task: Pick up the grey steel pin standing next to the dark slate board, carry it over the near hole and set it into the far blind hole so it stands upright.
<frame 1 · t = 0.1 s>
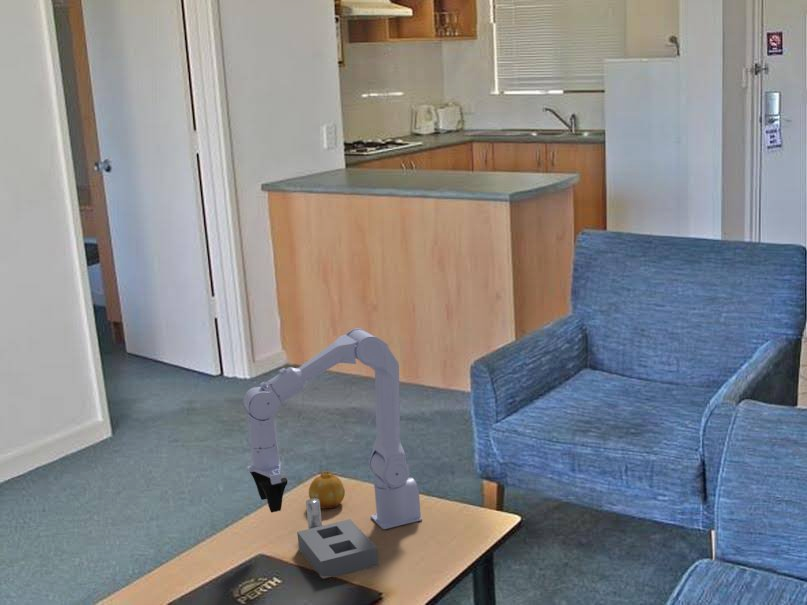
hand: (270, 504, 222), 10 cm above the table, tool pointing down, fingers open, 7 cm apart
fruit: (328, 505, 245), on the table
pin: (315, 530, 232), on the table
hole board: (337, 557, 218), on the table
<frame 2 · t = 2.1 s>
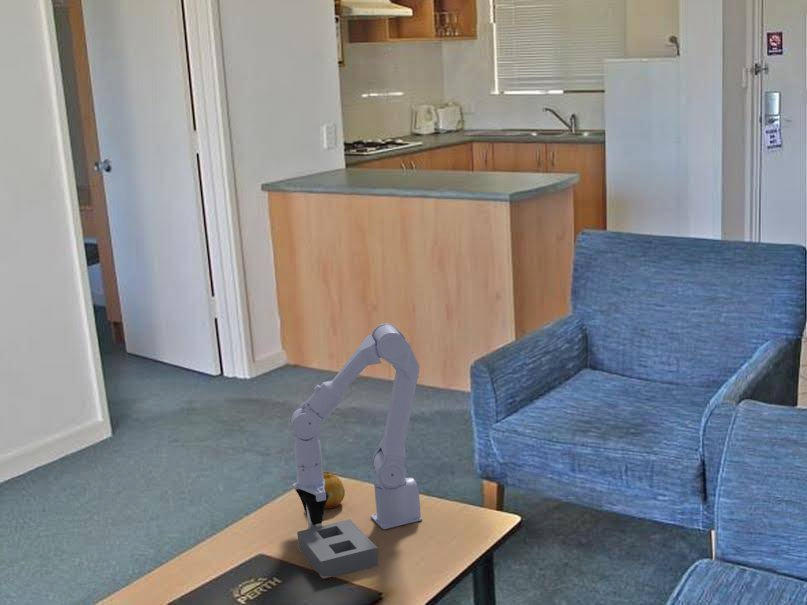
hand: (314, 520, 231), 2 cm above the table, tool pointing down, fingers closed on pin, 3 cm apart
pin: (315, 530, 232), on the table, touching gripper
everything else where it was.
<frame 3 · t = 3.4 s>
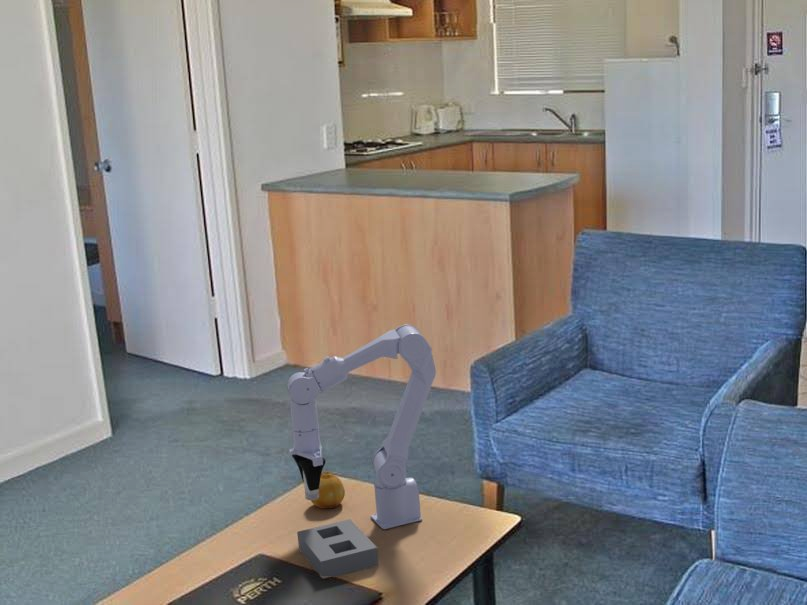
hand: (311, 486, 229), 10 cm above the table, tool pointing down, fingers closed on pin, 3 cm apart
pin: (312, 497, 230), point 8 cm above the table, touching gripper
everything else where it was.
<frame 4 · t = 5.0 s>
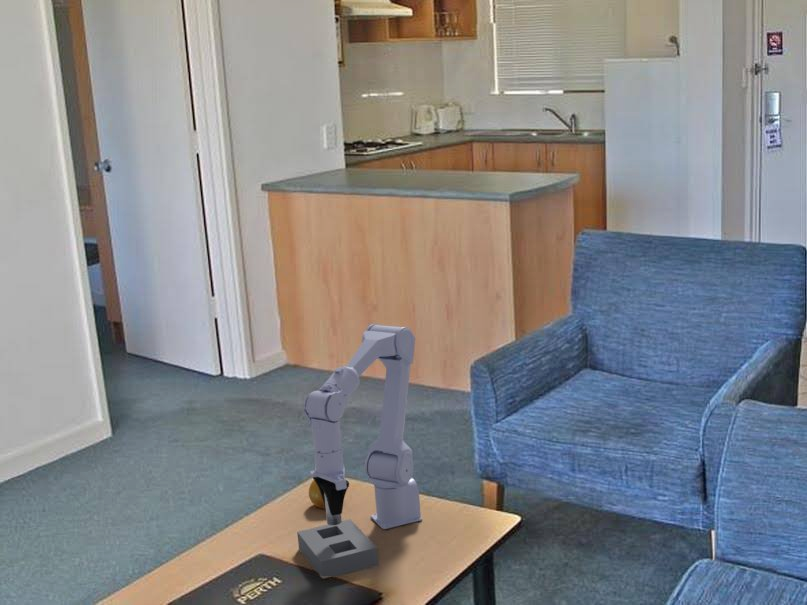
hand: (333, 511, 216), 10 cm above the table, tool pointing down, fingers closed on pin, 3 cm apart
pin: (334, 522, 216), point 8 cm above the table, touching gripper
everything else where it was.
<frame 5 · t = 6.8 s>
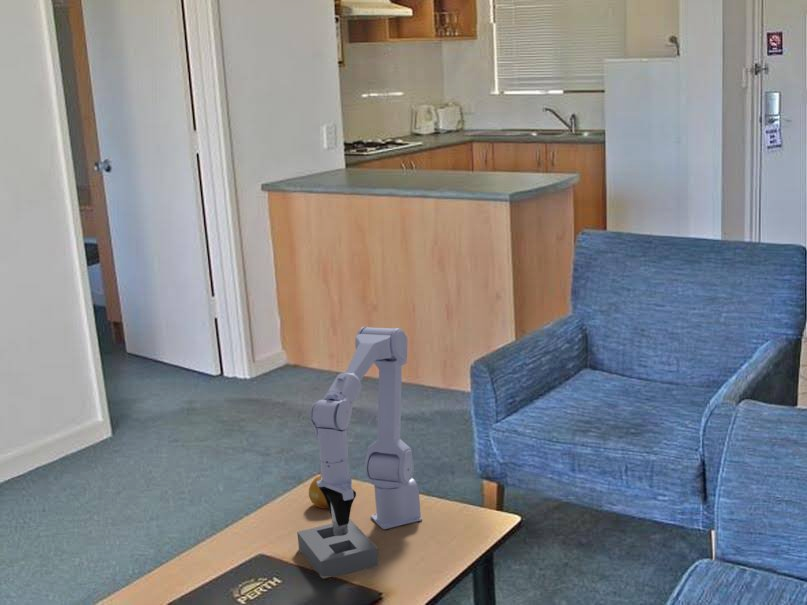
hand: (340, 521, 212), 10 cm above the table, tool pointing down, fingers closed on pin, 3 cm apart
pin: (340, 532, 213), point 7 cm above the table, touching gripper
everything else where it was.
when the fingers open (5 cm above the table, at t = 8.1 s): pin drops 1 cm, resting on hole board.
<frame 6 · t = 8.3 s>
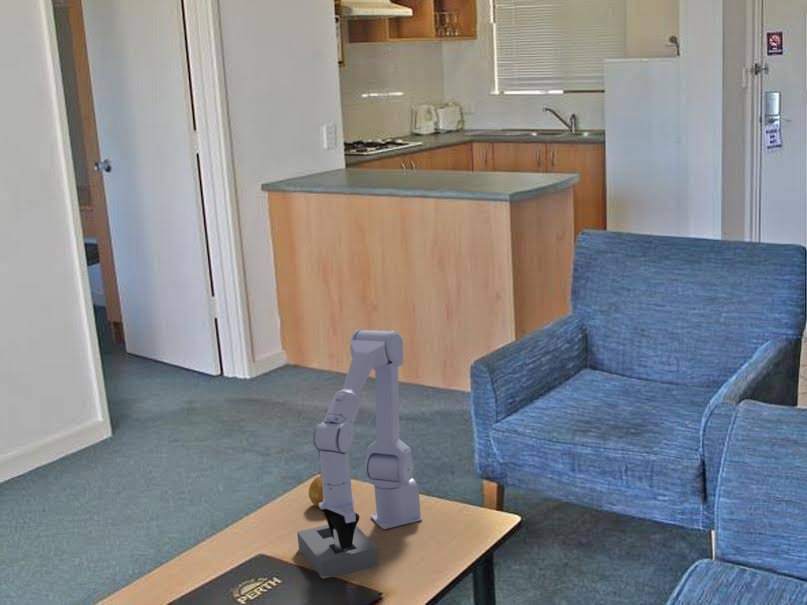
hand: (342, 542, 213), 5 cm above the table, tool pointing down, fingers open, 5 cm apart
pin: (343, 560, 214), point 1 cm above the table, touching hole board
everything else where it was.
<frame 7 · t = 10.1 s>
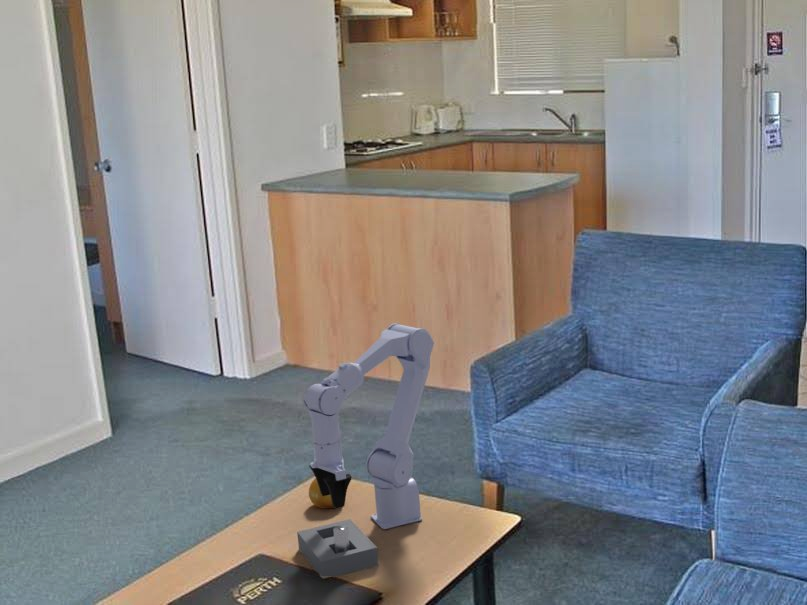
hand: (332, 500, 222), 10 cm above the table, tool pointing down, fingers open, 7 cm apart
nothing on the table moved.
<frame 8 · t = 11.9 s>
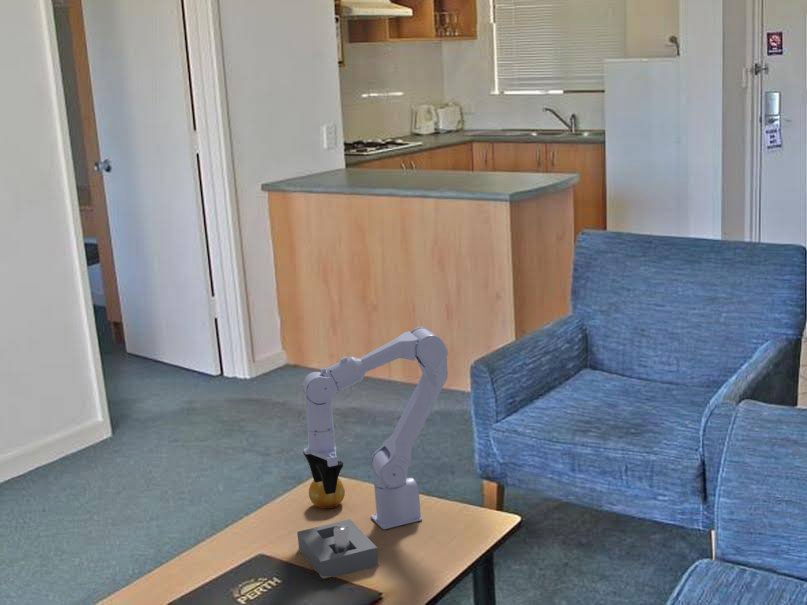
hand: (324, 487, 229), 10 cm above the table, tool pointing down, fingers open, 7 cm apart
nothing on the table moved.
at the end: pin 0.1 cm from the target spot on the hole board, point 1.0 cm above the hole board's base; pin tilted 1°; the gripper is holding nothing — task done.
